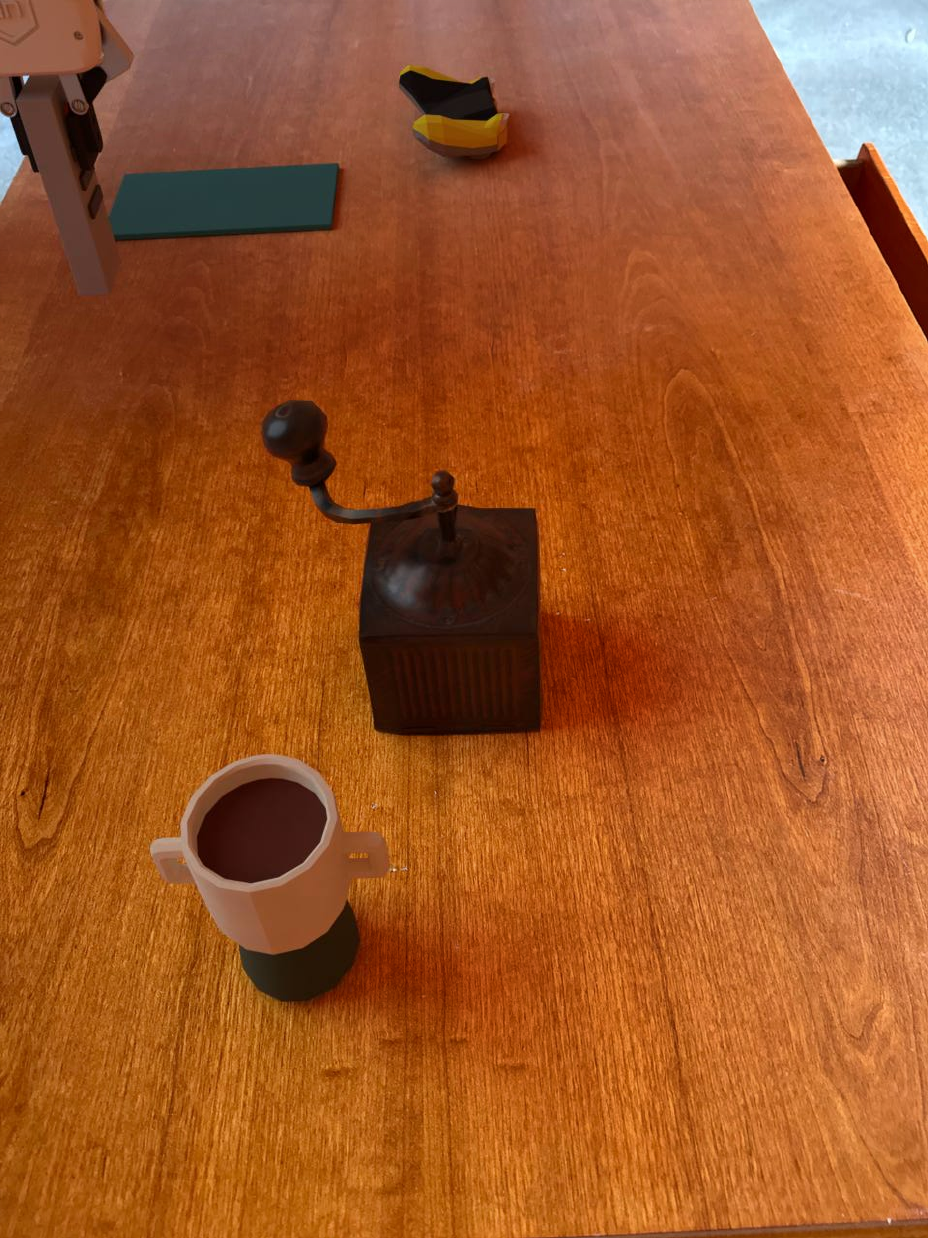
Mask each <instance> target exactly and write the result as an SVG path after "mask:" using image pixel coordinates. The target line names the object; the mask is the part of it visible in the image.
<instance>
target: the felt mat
mask: <svg viewBox="0 0 928 1238" xmlns="http://www.w3.org/2000/svg"><path fill="white" fill-rule="evenodd" d="M339 172H340V164H339V162H335V163H334V162H330V163H329V162H328V163H312V164H311V163H310V164H293V165H291V164H290V165H273V166H255V167H254V166H253V167H235V168H215V169H214V168H213V169H195V170H194V169H193V170H175V171H158V172H157V171H156V172H138V173H124V174H123V177H122V179H121V183H120V185H119V188H118V190H117V193H116V196H115V198H114V202H113V204H112V207H111V210H110V212H109V215H108V218H109V221H110V225H111V228H112V232H113V235H114V239H115V241H125V240H126V241H128V240H129V241H131V240H145V239H148V240H149V239H163V238H164V239H167V238H168V239H169V238H188V237H189V238H190V237H207V236H227V235H247V234H264V233H283V232H285V233H286V232H305V231H324V230H326V231H329V230H332V229H333V222H334V214H335V208H336V197H337V189H338V181H339Z"/></svg>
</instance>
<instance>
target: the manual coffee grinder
mask: <svg viewBox="0 0 928 1238" xmlns="http://www.w3.org/2000/svg"><path fill="white" fill-rule="evenodd" d="M328 429H329V422H328V417H327V415H326V414H325V413H324V411H323V410H322V409H321V408H320V407H319V405H317V404H316V403H315V402H314V401H313V400H311V399H309V400H308V399H307V400H306V399H290V400H287V401H285V402H282V403H280V404H278V405H276V406H274V408H272V409H270V410H269V411H268V412H267V414H266V415H265V416H264V418H263V420H262V422H261V430H260V431H261V432H260V433H261V439H262V444H263V446H264V448H265V450H266V452H267V453H268V454H269V455H271V456H272V457H273V458H276V459H279V460H282V461H284V462H287V463H288V464H289V465H290V477H291V478H290V479H291V481H292V482H293V483H294V485H296V486H298V487H308V489H309V491H310V495H311V496H312V499H313V503H314V505H315V507H316V508H317V510H318V511H319V512H320V513H321V514H322V516H324V518H326V519H329V520H330V521H331V522H335V523H336V524H345V525H365V524H369V527H368V531H367V537H366V543H365V551H364V552H365V553H364V561H363V570H362V578H361V585H360V591H359V597H358V598H359V599H358V643H359V650H360V655H361V659H362V664H363V670H364V673H365V679H366V684H367V688H368V694H369V699H370V705H371V712H372V718H373V719H372V720H373V730H375V731H376V732H378V733H385V734H391V735H398V736H473V735H474V736H475V735H477V736H478V735H491V734H492V735H495V734H514V733H534V732H535V733H536V732H540V731H541V728H542V721H543V720H542V719H543V711H544V710H543V708H544V693H543V692H544V690H543V679H542V678H543V677H542V637H541V615H542V604H541V603H542V602H541V601H542V600H541V599H542V598H541V593H542V592H541V544H540V528H539V521H538V517H537V510H536V509H537V508H536V507H477V506H470V505H465V504H459V493H458V492H457V491H456V489H454V488H455V483H456V478H455V476H453V475H452V474H451V473H450V472H448V471H447V470H445V469H441V470H438V471H435V472H434V475H433V477H432V480H431V482H430V483H429V485H430V486H431V488H432V490H433V492H432V493H431V494H430V495H431V496H428V497H424V498H422V499H418V500H415V501H409V502H406V503H403V504H401V505H397V506H388V507H377V508H365V509H364V508H363V509H356V508H348V507H344V506H342V505H340V504H339V503H337V502H335V500H333V498H332V497H331V495H330V493H329V490H328V488H327V485H326V484H327V483H326V482H327V481H328V480H329V478H330V477H331V476H332V475H333V474H334V471H335V469H336V468H337V465H338V462H337V460H336V458H335V457H334V455H333V453H332V452H330V451H328V449H326V447H325V445H326V443H325V442H326V436H327V432H328Z"/></svg>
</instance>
